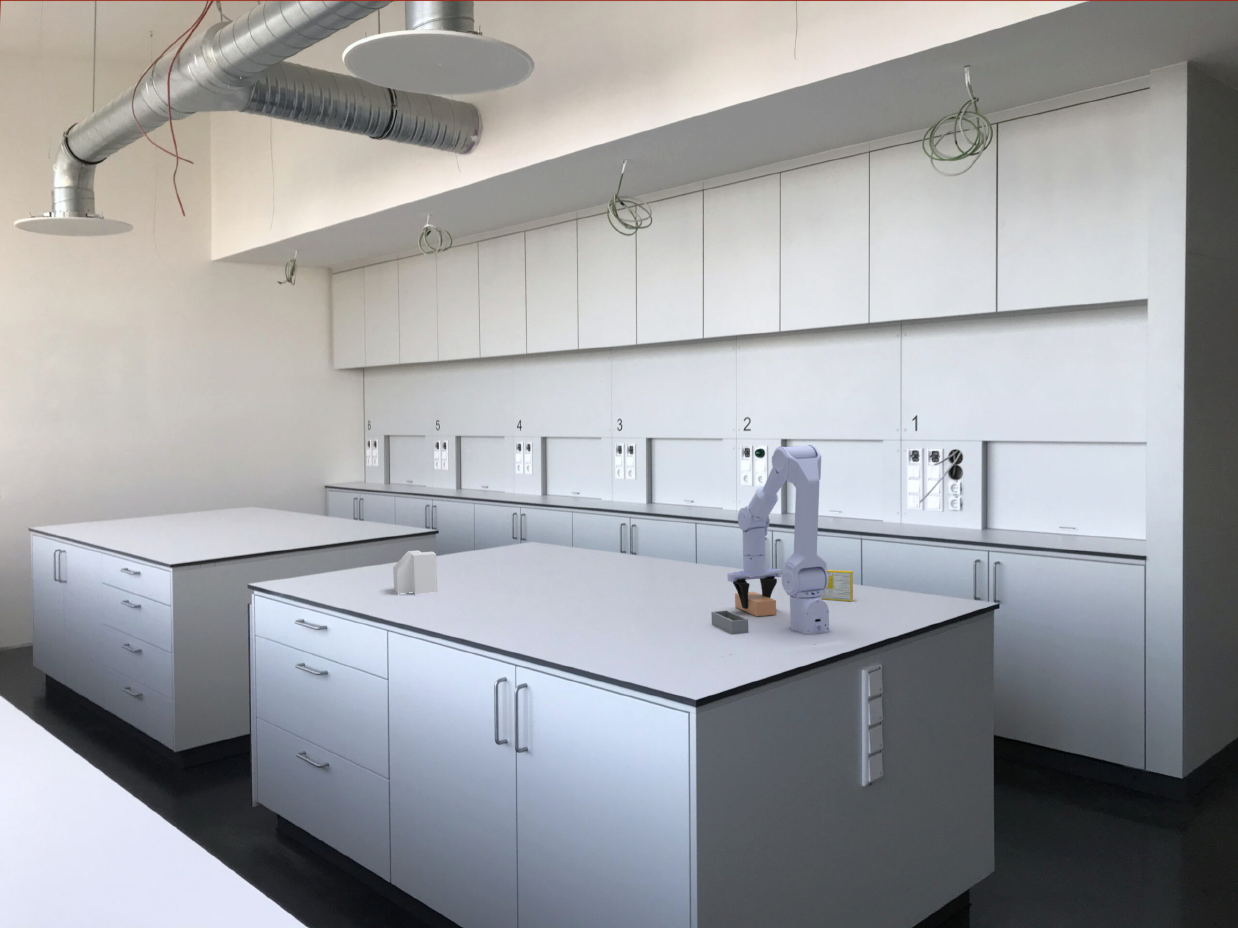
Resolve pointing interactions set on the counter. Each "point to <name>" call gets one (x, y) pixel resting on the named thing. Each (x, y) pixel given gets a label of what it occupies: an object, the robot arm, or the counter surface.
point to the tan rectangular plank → (757, 604)
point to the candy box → (839, 586)
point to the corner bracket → (416, 573)
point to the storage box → (729, 622)
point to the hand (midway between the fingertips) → (755, 606)
